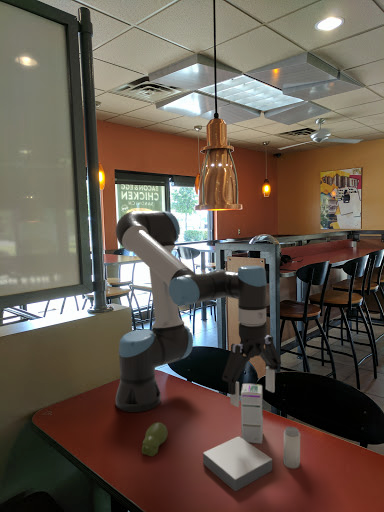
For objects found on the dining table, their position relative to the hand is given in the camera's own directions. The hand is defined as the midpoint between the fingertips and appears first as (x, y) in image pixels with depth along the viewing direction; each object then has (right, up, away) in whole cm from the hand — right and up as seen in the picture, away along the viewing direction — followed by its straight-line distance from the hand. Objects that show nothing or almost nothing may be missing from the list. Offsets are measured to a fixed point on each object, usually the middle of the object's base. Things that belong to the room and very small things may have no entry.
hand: (253, 397), depth 105 cm
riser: (-6, -13, -11) cm, 18 cm away
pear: (-27, -13, -2) cm, 30 cm away
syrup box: (0, -12, +2) cm, 12 cm away
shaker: (+8, -13, -10) cm, 18 cm away
